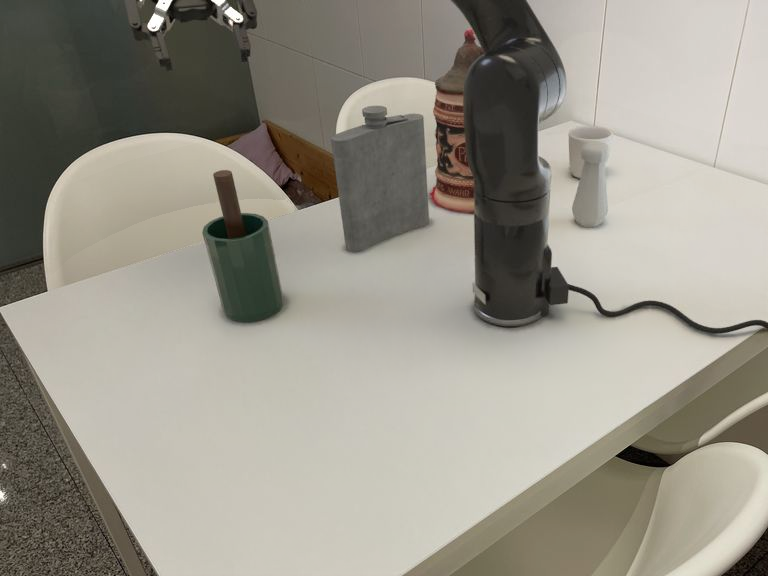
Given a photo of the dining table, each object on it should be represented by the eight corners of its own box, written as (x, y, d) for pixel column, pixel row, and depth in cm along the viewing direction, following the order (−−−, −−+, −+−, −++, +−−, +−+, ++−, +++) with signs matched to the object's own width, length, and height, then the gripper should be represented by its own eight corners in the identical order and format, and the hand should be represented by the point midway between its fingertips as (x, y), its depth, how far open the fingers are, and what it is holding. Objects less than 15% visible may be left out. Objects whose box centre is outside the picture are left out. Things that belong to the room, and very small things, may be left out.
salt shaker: (566, 226, 114) (572, 148, 106) (575, 212, 118) (581, 136, 110) (602, 231, 112) (610, 152, 104) (610, 217, 116) (618, 140, 108)
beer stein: (482, 232, 118) (538, 187, 129) (490, 66, 98) (554, 29, 109) (406, 200, 124) (465, 160, 135) (398, 39, 105) (468, 7, 116)
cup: (614, 188, 126) (618, 145, 121) (569, 189, 126) (572, 145, 121) (605, 166, 134) (609, 125, 130) (563, 167, 135) (566, 125, 130)
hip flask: (353, 254, 107) (336, 124, 95) (338, 245, 110) (320, 117, 98) (433, 222, 116) (426, 99, 104) (417, 215, 118) (409, 94, 106)
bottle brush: (267, 291, 97) (240, 165, 86) (266, 306, 94) (238, 178, 83) (238, 294, 96) (207, 168, 86) (235, 309, 93) (203, 181, 82)
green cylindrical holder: (284, 288, 99) (268, 210, 92) (283, 318, 93) (266, 237, 86) (226, 294, 98) (206, 216, 91) (221, 325, 92) (199, 243, 85)
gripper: (99, -81, 77) (137, 50, 75) (230, -88, 82) (269, 35, 80) (112, -33, 84) (147, 88, 82) (232, -42, 89) (268, 73, 87)
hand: (207, 62), depth 81 cm, fingers open, 8 cm apart
